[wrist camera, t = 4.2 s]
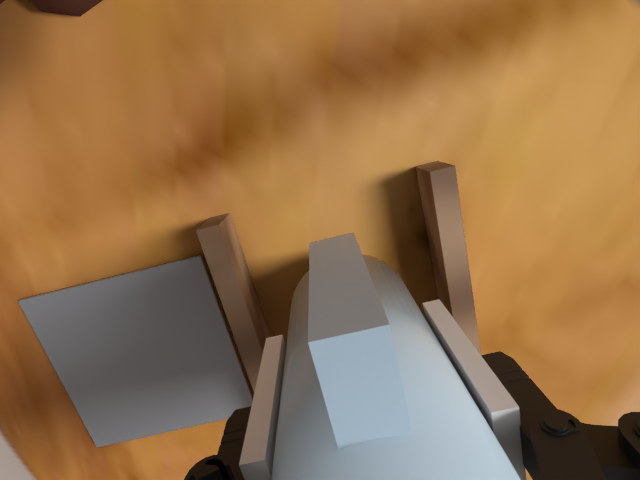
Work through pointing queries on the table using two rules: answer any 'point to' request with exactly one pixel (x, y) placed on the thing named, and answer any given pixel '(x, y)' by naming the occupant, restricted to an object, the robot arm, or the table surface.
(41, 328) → the coaster
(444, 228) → the brown wooden u-shaped frame
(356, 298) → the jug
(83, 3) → the ice cream bowl
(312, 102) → the table surface
